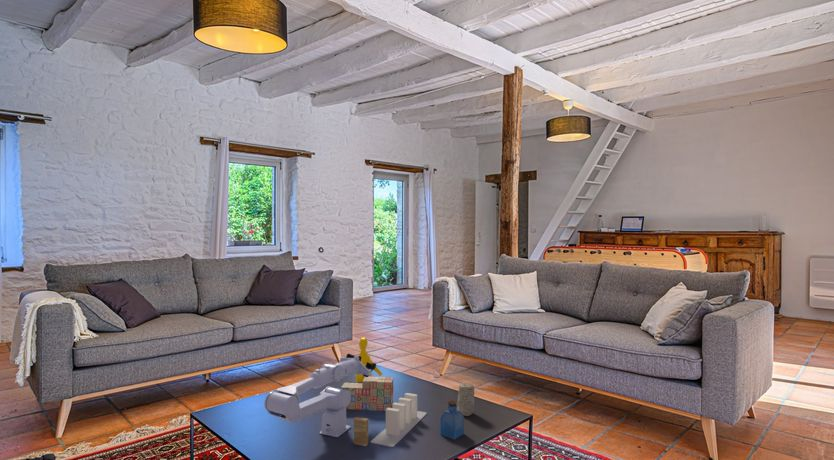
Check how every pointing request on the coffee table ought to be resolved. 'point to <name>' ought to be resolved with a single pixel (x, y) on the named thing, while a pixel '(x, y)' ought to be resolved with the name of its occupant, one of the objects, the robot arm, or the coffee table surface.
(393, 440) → the felt strip
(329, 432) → the robot arm
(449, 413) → the perfume bottle
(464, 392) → the carving
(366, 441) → the ochre tile
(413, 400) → the domino
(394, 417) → the domino
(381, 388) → the stack of blocks
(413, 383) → the coffee table surface
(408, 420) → the domino
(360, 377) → the figure statuette
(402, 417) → the domino
